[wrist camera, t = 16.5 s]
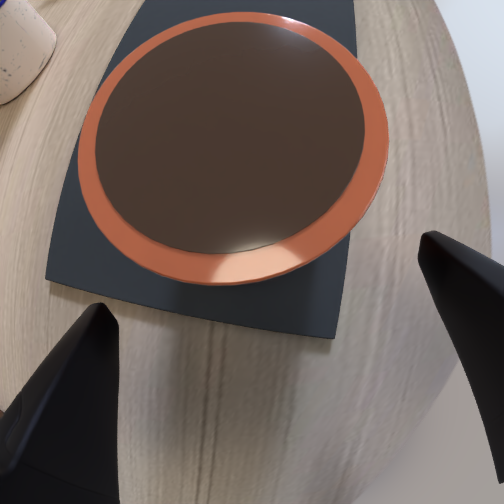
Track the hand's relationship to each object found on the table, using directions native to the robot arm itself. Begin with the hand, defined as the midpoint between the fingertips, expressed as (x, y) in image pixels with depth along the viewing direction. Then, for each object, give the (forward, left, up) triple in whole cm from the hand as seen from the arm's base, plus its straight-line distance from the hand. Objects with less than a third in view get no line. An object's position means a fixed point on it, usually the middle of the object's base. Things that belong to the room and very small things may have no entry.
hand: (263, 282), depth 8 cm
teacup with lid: (+29, -1, -7) cm, 30 cm away
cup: (+2, -2, -6) cm, 7 cm away
